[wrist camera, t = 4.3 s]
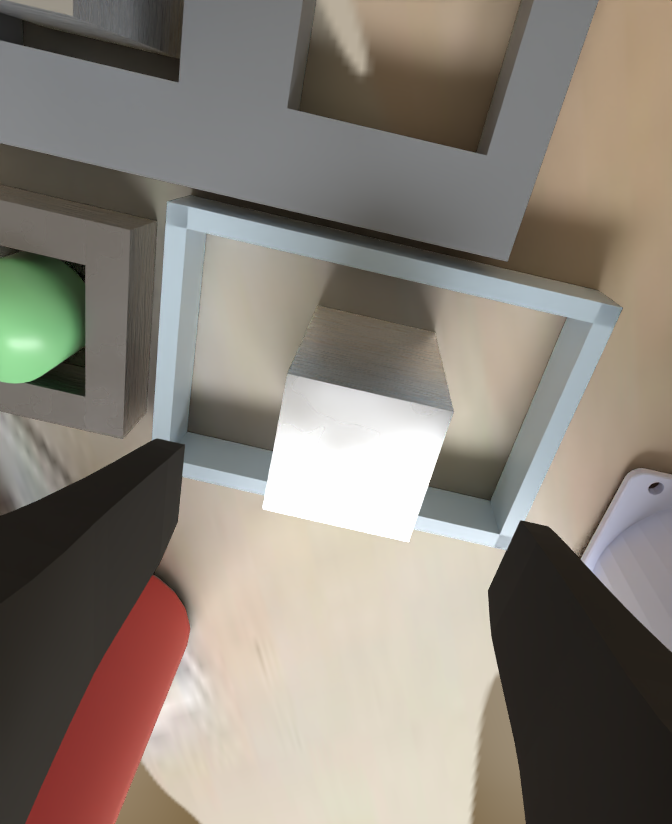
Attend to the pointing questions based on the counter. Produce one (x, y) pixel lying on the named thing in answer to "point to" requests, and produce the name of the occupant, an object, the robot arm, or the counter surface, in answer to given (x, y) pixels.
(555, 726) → the robot arm
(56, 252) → the button housing
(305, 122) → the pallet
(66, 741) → the beer can
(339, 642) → the counter surface
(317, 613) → the counter surface
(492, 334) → the counter surface
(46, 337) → the button
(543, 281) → the light blue rectangular frame
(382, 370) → the billet
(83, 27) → the block
